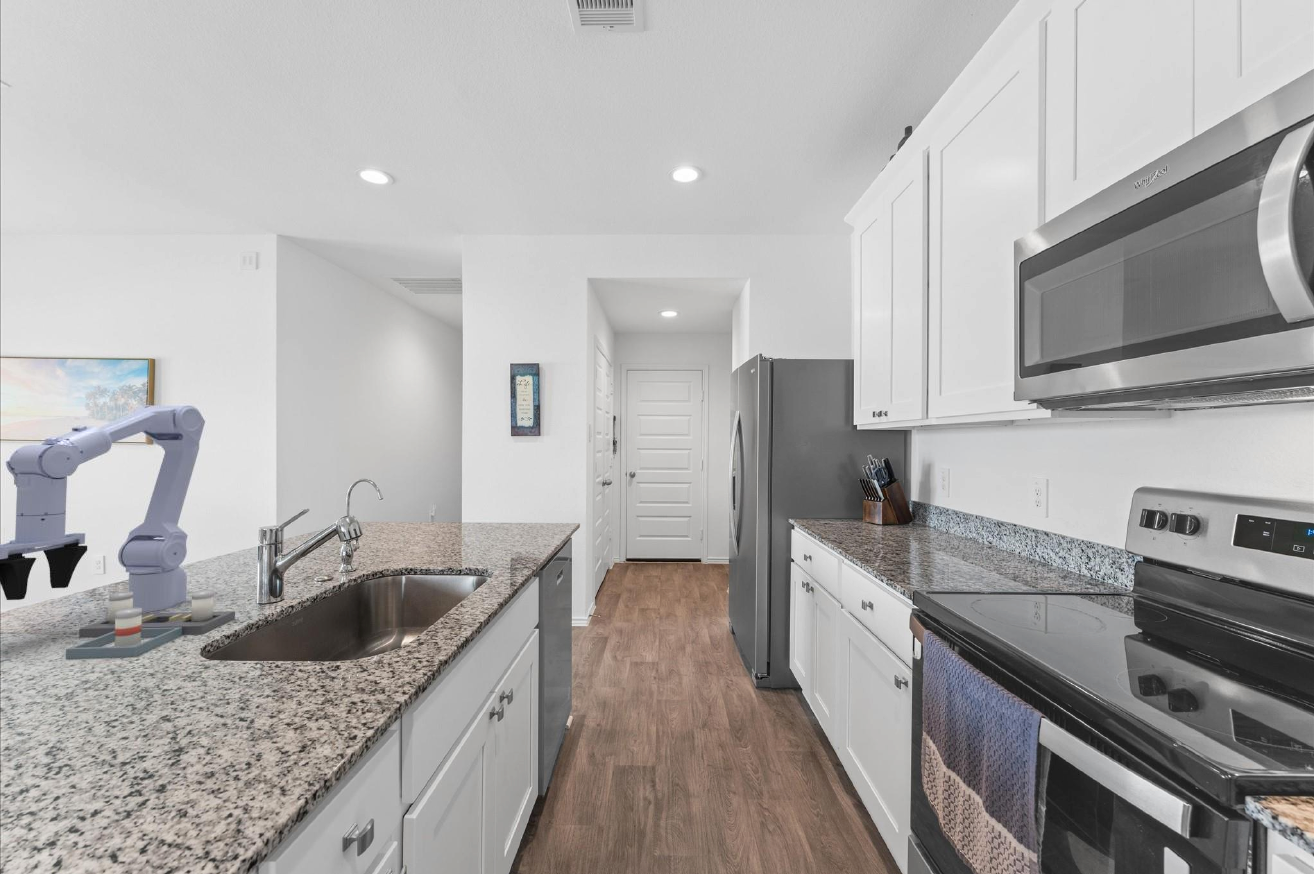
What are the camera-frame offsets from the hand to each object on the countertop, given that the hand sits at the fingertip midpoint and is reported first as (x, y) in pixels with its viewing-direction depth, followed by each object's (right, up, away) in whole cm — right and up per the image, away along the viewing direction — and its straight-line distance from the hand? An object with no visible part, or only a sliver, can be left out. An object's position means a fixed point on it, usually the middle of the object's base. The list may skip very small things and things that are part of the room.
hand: (38, 593), depth 94 cm
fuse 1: (+7, -9, +7) cm, 13 cm away
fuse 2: (+21, -9, +9) cm, 24 cm away
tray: (+17, -10, -2) cm, 19 cm away
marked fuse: (+17, -9, -2) cm, 19 cm away
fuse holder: (+14, -10, +8) cm, 19 cm away
